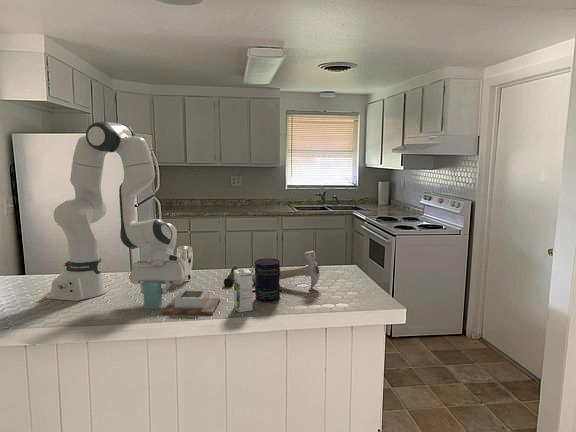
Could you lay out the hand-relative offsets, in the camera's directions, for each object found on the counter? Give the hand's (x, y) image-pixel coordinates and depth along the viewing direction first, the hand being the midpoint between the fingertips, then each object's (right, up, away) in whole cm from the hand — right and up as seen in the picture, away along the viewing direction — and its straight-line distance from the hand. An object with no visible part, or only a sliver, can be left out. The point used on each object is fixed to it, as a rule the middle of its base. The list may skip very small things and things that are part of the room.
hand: (153, 293), depth 164 cm
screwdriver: (+33, 0, +37) cm, 50 cm away
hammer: (+49, -2, +24) cm, 54 cm away
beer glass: (+4, 0, +34) cm, 34 cm away
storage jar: (+42, -4, +9) cm, 43 cm away
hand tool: (+25, 0, +33) cm, 41 cm away
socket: (+15, -4, -1) cm, 16 cm away
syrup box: (+34, -5, -3) cm, 34 cm away
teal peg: (0, -5, 0) cm, 5 cm away
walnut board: (+15, -5, -1) cm, 16 cm away
